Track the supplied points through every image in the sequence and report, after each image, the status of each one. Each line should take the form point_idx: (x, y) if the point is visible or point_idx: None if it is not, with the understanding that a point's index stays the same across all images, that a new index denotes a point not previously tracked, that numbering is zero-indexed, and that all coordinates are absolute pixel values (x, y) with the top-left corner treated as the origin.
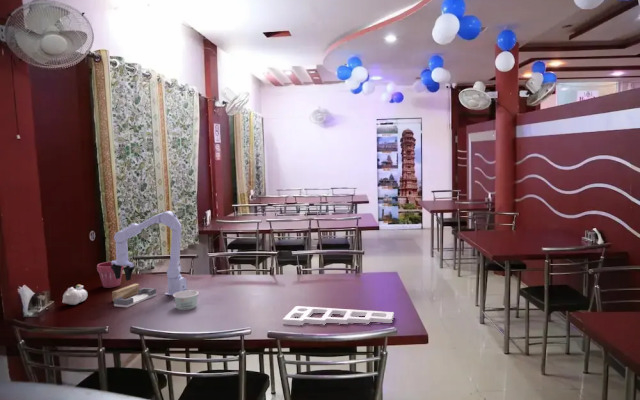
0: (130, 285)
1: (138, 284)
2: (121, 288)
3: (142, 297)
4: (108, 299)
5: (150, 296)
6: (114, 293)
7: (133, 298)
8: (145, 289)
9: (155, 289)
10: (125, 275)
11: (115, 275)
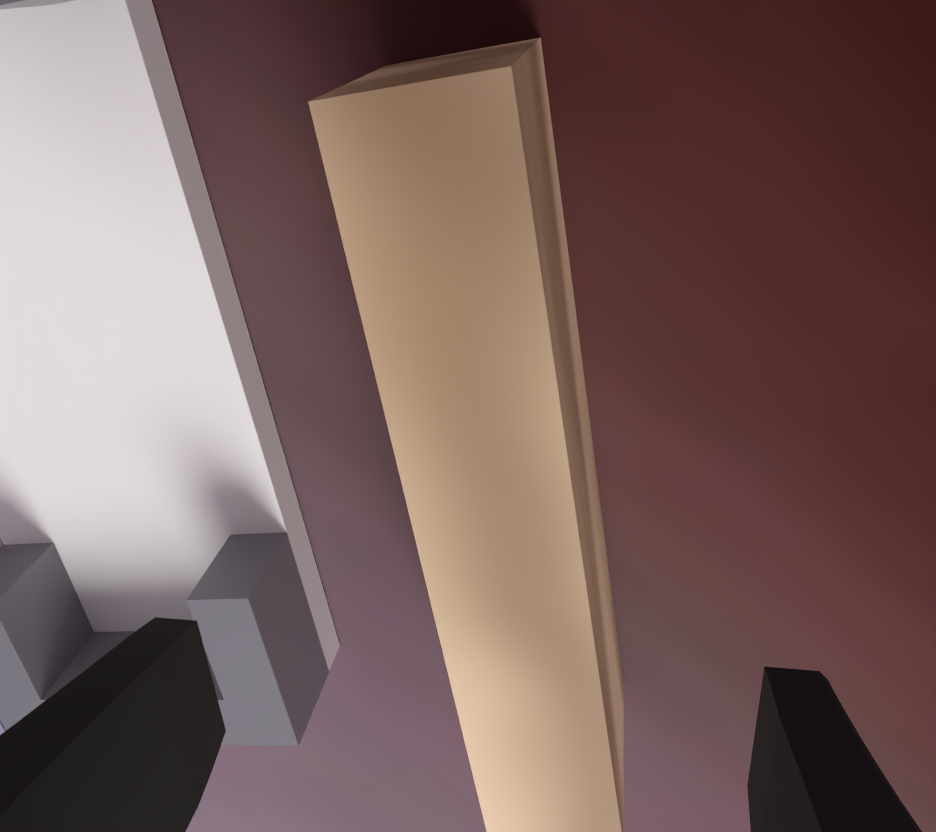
0: (576, 720)
1: (485, 820)
2: (558, 460)
3: (12, 419)
4: (778, 78)
5: (15, 539)
6: (422, 79)
7: (96, 298)
8: None
9: (14, 723)
10: (35, 768)
11: (855, 789)
